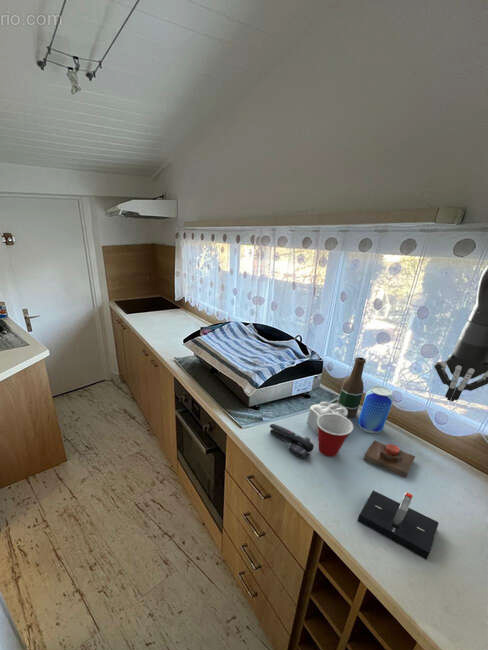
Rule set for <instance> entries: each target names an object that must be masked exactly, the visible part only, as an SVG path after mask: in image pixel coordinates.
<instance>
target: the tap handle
mask: <svg viewBox="0 0 488 650" xmlns="http://www.w3.org/2000/svg"><path fill="white" fill-rule="evenodd" d="M413 498H414V495H413V494H412V493H409V492H405V493H404V495H403V497H402V500H401V501H400V506H399V508H398V510H397V513H396V515H395V518H394V520H393V522H392V525H394V526H396V527H398V528H399V527H400V525H401V523H402V521H403V519H404V517H405V515H406V513H407V510H408V508H410V505H411V502H412V500H413Z"/></svg>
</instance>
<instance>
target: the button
mask: <svg viewBox="0 0 488 650" xmlns="http://www.w3.org/2000/svg"><path fill="white" fill-rule="evenodd" d="M399 450H401V449H400V447H399V446H397V445H395V444H392V443H388V444H387V446H386V448H385V452H387V453H388V454H390V455H395V456H396V455H398V453H399Z"/></svg>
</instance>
